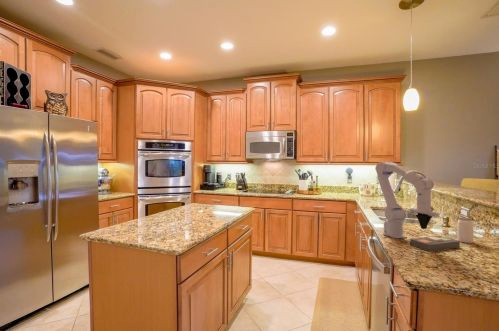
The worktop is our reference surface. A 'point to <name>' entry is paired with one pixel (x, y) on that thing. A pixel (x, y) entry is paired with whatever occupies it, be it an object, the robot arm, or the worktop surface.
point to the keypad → (435, 244)
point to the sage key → (445, 239)
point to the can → (465, 230)
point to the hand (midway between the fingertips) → (423, 228)
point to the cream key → (434, 239)
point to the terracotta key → (424, 241)
